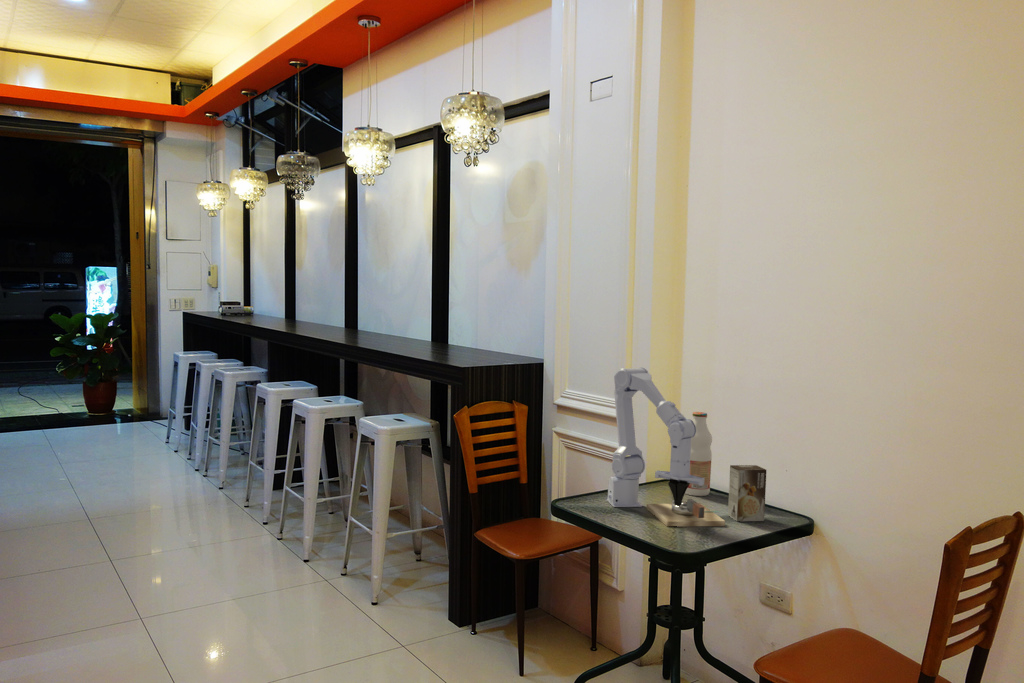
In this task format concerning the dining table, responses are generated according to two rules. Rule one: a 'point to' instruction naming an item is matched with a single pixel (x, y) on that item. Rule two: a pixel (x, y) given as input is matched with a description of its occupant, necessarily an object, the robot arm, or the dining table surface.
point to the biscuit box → (747, 493)
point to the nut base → (684, 517)
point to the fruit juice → (700, 455)
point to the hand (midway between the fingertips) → (677, 505)
